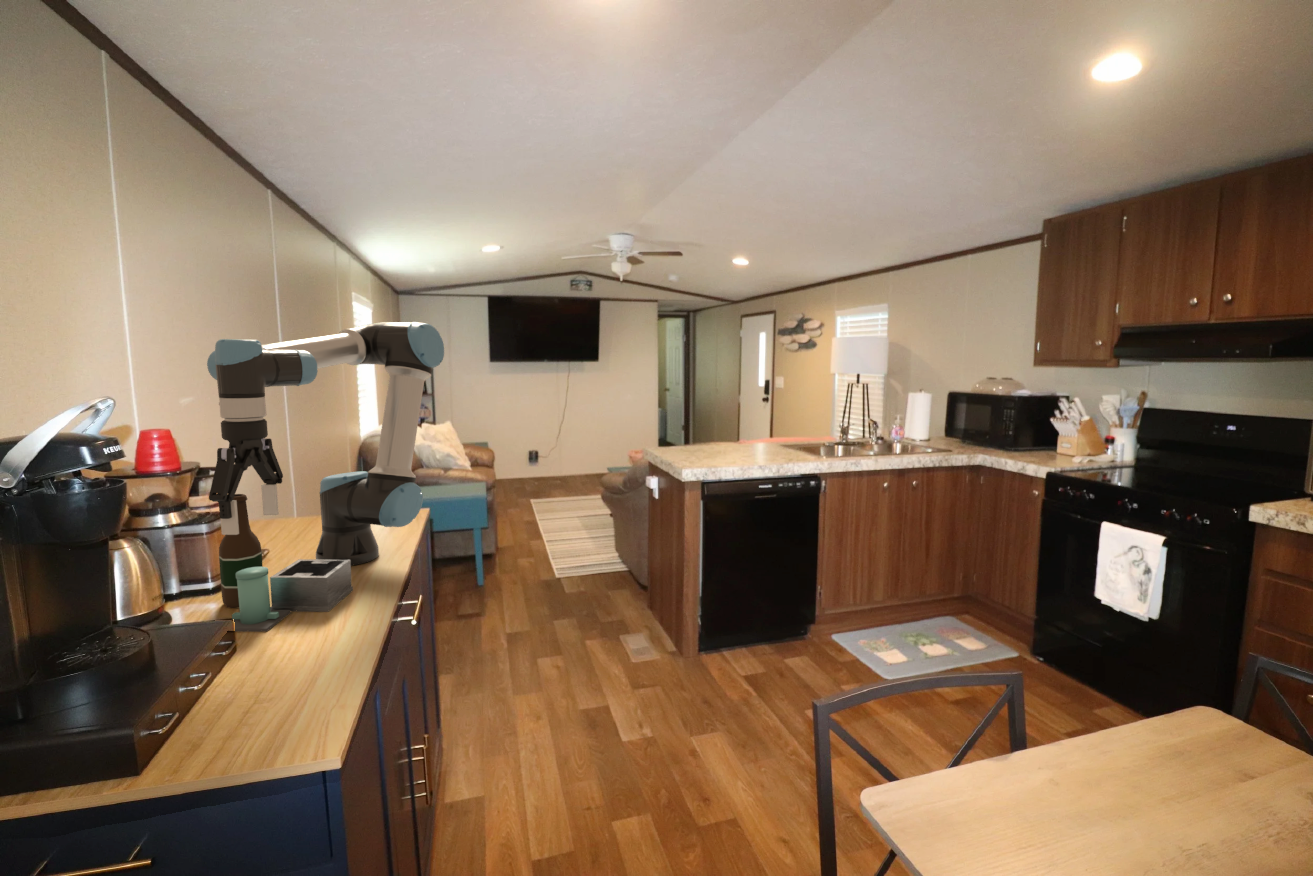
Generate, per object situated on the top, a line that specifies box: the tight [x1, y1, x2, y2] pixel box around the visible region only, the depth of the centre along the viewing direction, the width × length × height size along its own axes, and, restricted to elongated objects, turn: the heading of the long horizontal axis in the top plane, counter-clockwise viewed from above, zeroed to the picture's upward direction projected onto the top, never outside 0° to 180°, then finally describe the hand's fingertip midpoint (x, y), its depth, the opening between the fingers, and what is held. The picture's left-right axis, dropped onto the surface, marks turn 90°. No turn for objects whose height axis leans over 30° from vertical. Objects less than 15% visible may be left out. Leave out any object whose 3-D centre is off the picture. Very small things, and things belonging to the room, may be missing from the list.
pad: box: [234, 610, 292, 633], centre depth 125 cm, size 9×9×1 cm
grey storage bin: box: [269, 558, 354, 613], centre depth 135 cm, size 12×12×8 cm
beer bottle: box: [218, 493, 264, 609], centre depth 133 cm, size 8×8×24 cm
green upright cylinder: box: [231, 566, 279, 624], centre depth 124 cm, size 9×6×10 cm, turn 93°
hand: (251, 524), depth 122 cm, fingers open, 13 cm apart
